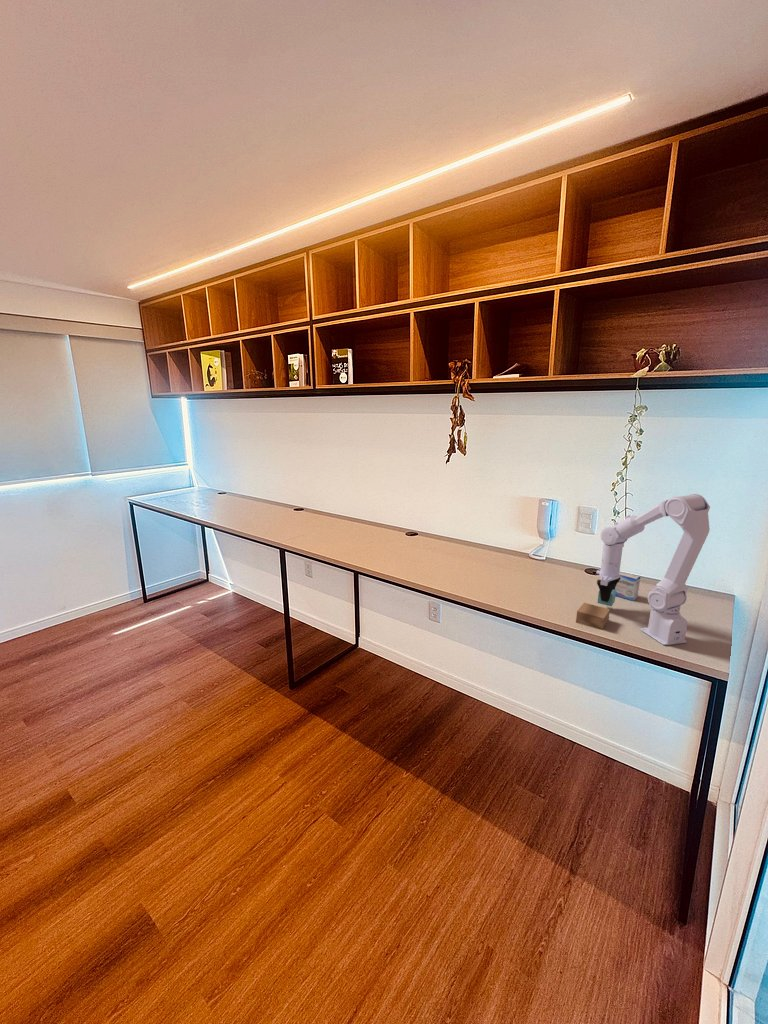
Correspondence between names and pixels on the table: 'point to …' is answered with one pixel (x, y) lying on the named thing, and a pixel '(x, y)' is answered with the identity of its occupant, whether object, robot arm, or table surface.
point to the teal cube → (611, 600)
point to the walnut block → (593, 616)
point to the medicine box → (627, 586)
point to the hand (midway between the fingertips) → (606, 598)
